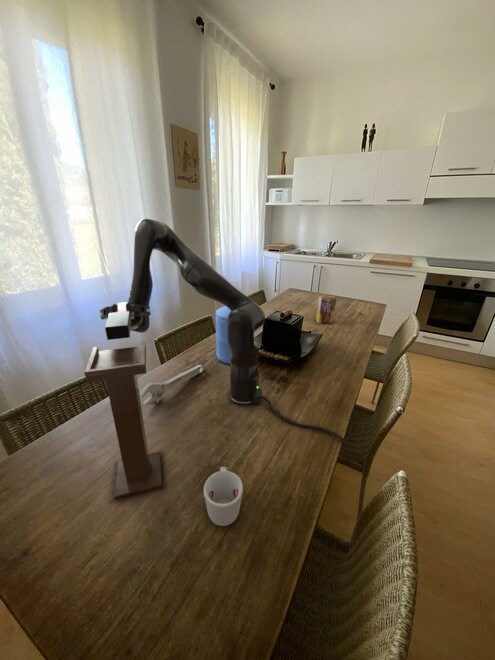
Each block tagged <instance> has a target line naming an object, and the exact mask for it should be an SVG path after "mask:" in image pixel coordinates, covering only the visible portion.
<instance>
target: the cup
mask: <svg viewBox="0 0 495 660" xmlns="http://www.w3.org/2000/svg"><path fill="white" fill-rule="evenodd" d="M243 493H244V485H243V482H242V480H241V478H240V476H239V475H237V474H236V473H234V472H233V471H229V470H228V469H227V466H220V468H219V471H216V472H214V473H213V474H211V475H210V476H208V478H207V479H206V481H205V482H204V485H203V496H204V502H205V507H206V512H207V515H208V518H209V519H210V521H211V522H212V523H213V524H215V525H216V526H220V527H226V526H229V525H232V524H233V523H234V522H235V521H236V520H237V518H238V516H239V514H240V509H241V505H242V504H241V503H242V498H243Z"/></svg>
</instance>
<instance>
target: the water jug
mask: <svg viewBox="0 0 495 660" xmlns="http://www.w3.org/2000/svg"><path fill="white" fill-rule="evenodd" d="M230 311H231V310H230V309H229V308H228V307H226V306H225V305H224V306H222V307H219V308H217V309H216V311H215V341H216V352H215V353H216V355H215V356H216V358H217V359H218V360H219V361H220V362H222V363H223V364H227V365H230V347H229V345H228V335H227V318H228V315H229V313H230Z"/></svg>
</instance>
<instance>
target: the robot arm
mask: <svg viewBox="0 0 495 660" xmlns="http://www.w3.org/2000/svg"><path fill="white" fill-rule="evenodd" d="M133 242H134V244H133V268H132V269H133V271H132V280H131V285H130V289H129V295H128V300H127V302H128V303H126V311H129V312H130V318H131V329H130V332H131V331H132V332H135V333H139V334H143V333H146V332H147V331H148V330H149V328H150V322H151V319H150V316H151V306H150V301H151V298H152V293H153V288H154V287H153V286H154V282H153V275H152V270H151V258H152V255H153V251H159V252H161V253H163V254H164V255H165V256H166V257H168V259H170V260H171V261H172V262H173V263H174V265H175V267H176V269H177V270H178V272H179V275H180V276H181V278H182V279H183V281H184V282H186V283H187V285H189V287H191V289H193V290H194V291H195V292H196V293H197V294H200V295H202V296H203V297H206V298H208V299H210V300H212V301H216V302H217V303H220V304H222V305H224V306H226V307H228V308H229V309H230V310H231V311H230V313H229V315H228V318H227V335H228V345H229V347H230V364H229V374H230V375H229V377H230V378H229V398H230V400H231V401H232V402H233V403H235V404H237V405H241V406H242V405H243V406H247V405H252V404H253V405H254V404H256V405H257V404H258V405H260V403H261V399H262V400H264V402H266V403H267V404H268V407H269V409H270V410H271V412H273V414H274V415H276V416H277V417H278V418H280V420H283V421H285V422H287V423H289V424H292V425H295V426H297V427H301V428H307V429H308V428H309V429H314V430H320V431H323V432H326V433H328V434H331V435H332V436H335V437H336V438H338V439H339V440H340V441H341V442H342V444H343V445H344V446H345V447H348V446H349V444H348V442H347V441H346V440H345V439H344V438H343V437H342V436H341V435H340V434H339V433H337V432H336V431H333V430H331V429H327V428H325V427H323V426H319V425H312V424H305V423H300V422H297V421H294V420H291V419H289V418H286V417H285V416H283V415H281V414H280V413H278V412H277V410H275V409H274V407H273V406H272V403H271V401H270V400H269V399H268V398H267V397H266V396H263V394H262V393H263V389H262V388H259V381H260V370H259V360H260V345H259V344H258V342H257V341H255V332H256V331H258V330H259V329H260V328H261V327H262V326H263V325H265V323H266V315H265V312H264V310H263V308H262V307H261V306H260V305H259V304H258V303H256V302H255V301H254V300H253V299H252V298H250V297H248V296H247V295H246V294H245V293H243V292H241V291H240V290H239V289H238V288H236V287H235V286H234V285H233V284H232V283H231V282H229V281H228V280H227V279H226V278H225V277H223V275H221V274H220V273H219V272H218V271H217V270H216V269H215V268H214V267H213V266H211V264H209V263H208V261H206V260H205V259H204V258H202V256H200V255H199V254H198V253H197V252H195V251H194V250H193V249H192V248H191V247H189V246H188V245H187V244H185V242H184V241H183V240H182V239H181V238H180V237H179V236H178V235H177V233H175V232H174V230H173V229H172V228H171V227H170V226H169V225H168V224H166V223H164V222H162V221H158V220H154V219H151V218H142V219H141V220H139V221H138V222H137V224H136V227H135V231H134V241H133ZM124 302H125V301H123V302H122V303H124ZM117 306H118V304H116V303H112V305H110V306H105V307H103V308H102V309H100V310H99V315H100V320H107V318H108V315H109V313H113V312H116V311H117Z"/></svg>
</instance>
